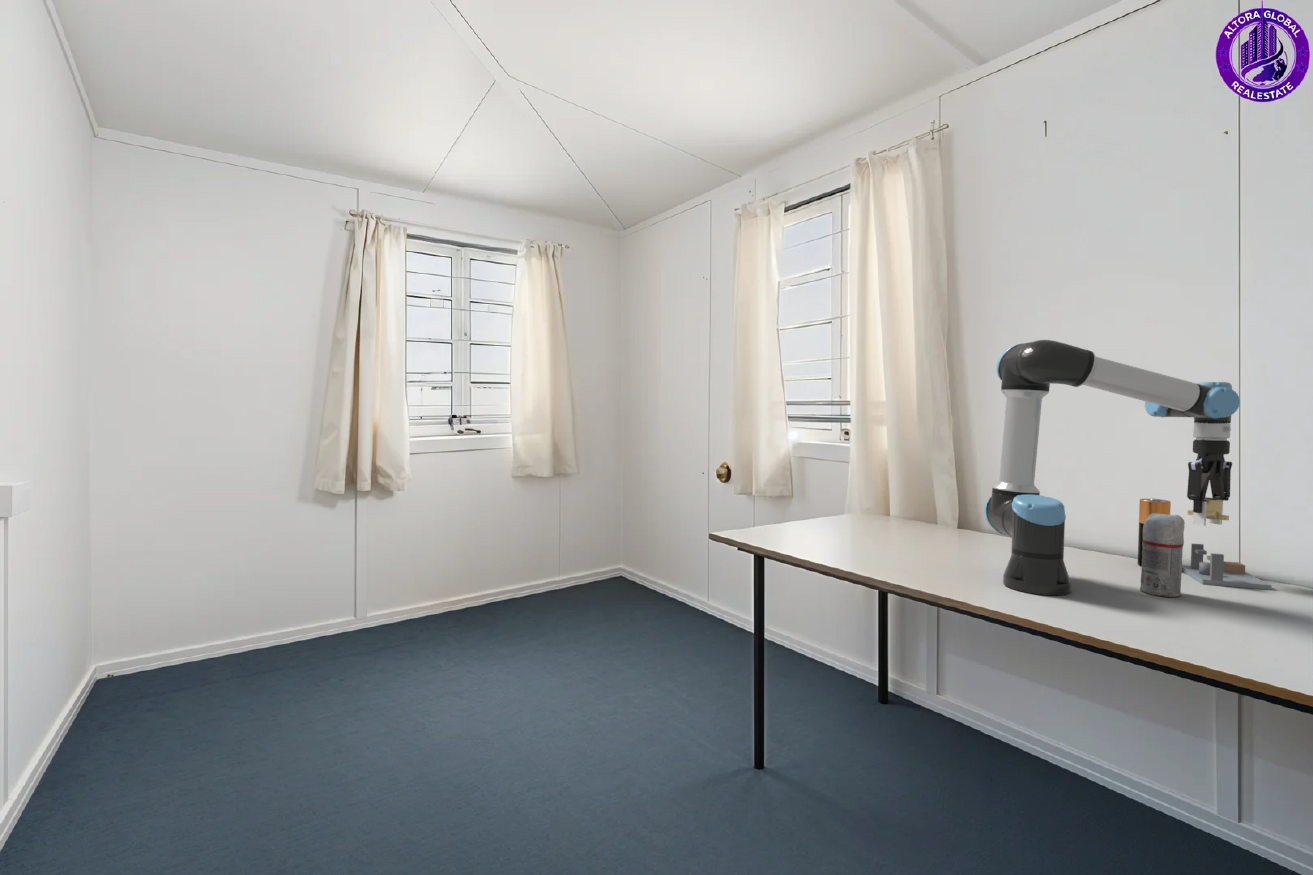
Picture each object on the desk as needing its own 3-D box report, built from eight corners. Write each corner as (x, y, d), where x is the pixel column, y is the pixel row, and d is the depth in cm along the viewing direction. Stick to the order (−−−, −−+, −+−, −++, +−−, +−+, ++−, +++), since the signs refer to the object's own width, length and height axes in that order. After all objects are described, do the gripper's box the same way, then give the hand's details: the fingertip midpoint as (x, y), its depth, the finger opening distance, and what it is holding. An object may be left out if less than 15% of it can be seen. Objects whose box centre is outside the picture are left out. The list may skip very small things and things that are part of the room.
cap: (1234, 519, 167) (1235, 499, 167) (1219, 520, 166) (1220, 500, 165) (1196, 514, 176) (1197, 495, 176) (1181, 515, 174) (1182, 495, 174)
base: (1202, 584, 166) (1203, 553, 166) (1178, 568, 182) (1179, 540, 182) (1271, 590, 161) (1272, 558, 161) (1240, 573, 177) (1241, 544, 176)
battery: (1138, 567, 184) (1140, 499, 183) (1136, 562, 190) (1139, 496, 189) (1169, 570, 180) (1172, 501, 179) (1167, 565, 186) (1169, 498, 185)
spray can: (1190, 599, 153) (1193, 518, 152) (1151, 597, 155) (1154, 516, 154) (1169, 589, 162) (1172, 512, 161) (1133, 587, 163) (1135, 511, 162)
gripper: (1202, 440, 164) (1198, 528, 165) (1251, 439, 169) (1246, 525, 170) (1171, 438, 171) (1168, 523, 172) (1219, 438, 176) (1215, 520, 177)
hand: (1207, 524), depth 171 cm, fingers closed on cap, 5 cm apart
